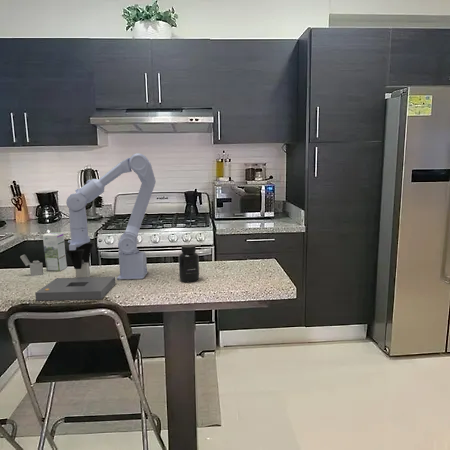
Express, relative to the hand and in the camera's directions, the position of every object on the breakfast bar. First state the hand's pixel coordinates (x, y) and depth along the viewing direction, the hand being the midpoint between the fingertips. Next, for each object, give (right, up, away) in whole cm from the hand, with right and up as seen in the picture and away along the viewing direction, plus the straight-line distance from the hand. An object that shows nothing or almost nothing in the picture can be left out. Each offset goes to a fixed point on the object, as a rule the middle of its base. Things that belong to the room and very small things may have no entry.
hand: (82, 265), depth 139 cm
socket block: (+3, -7, -12) cm, 14 cm away
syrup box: (-16, -3, +16) cm, 23 cm away
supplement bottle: (+38, -5, -2) cm, 39 cm away
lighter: (-22, -5, +9) cm, 24 cm away
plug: (0, -5, +1) cm, 5 cm away
